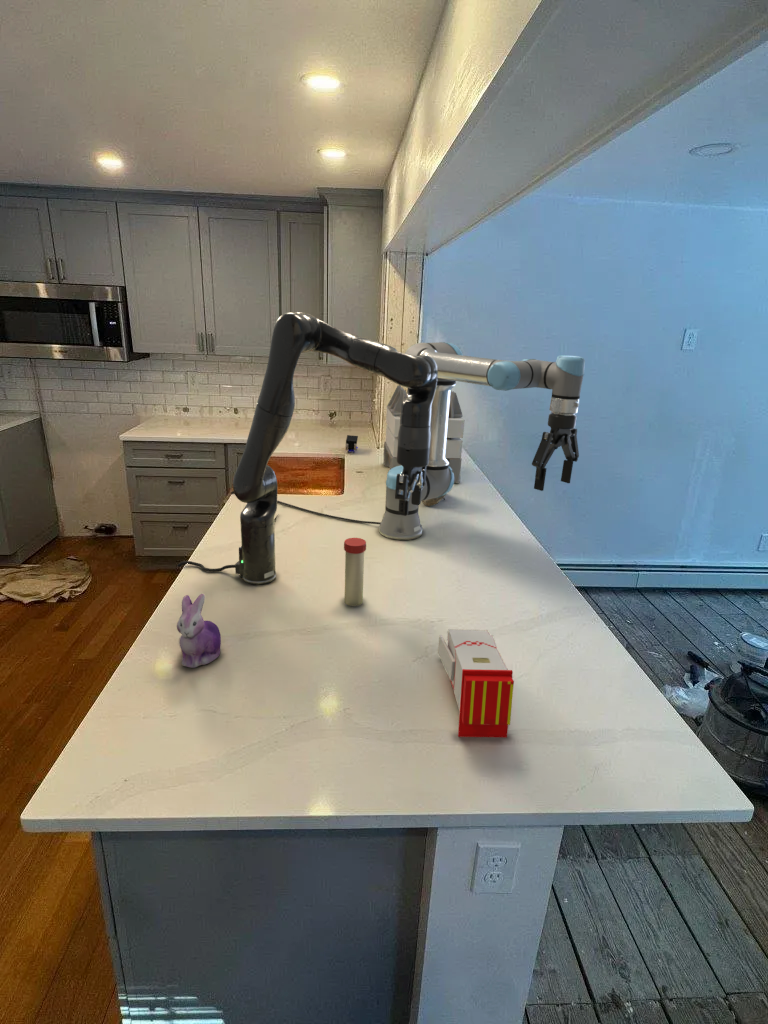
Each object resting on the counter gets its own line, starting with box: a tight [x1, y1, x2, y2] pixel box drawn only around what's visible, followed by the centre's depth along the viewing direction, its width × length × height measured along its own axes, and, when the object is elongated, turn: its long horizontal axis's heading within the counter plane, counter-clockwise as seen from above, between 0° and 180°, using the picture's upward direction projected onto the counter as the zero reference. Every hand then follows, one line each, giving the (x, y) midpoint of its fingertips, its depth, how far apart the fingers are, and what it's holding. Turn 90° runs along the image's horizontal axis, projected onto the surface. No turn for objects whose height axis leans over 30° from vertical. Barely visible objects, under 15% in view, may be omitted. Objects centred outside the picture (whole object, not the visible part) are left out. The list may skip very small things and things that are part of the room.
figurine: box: [176, 593, 222, 668], centre depth 123 cm, size 9×10×15 cm
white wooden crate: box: [383, 384, 465, 484], centre depth 268 cm, size 34×33×41 cm
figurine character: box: [345, 434, 359, 454], centre depth 310 cm, size 7×8×15 cm
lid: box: [343, 537, 367, 554], centre depth 147 cm, size 6×6×2 cm
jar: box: [343, 551, 365, 607], centre depth 150 cm, size 5×5×17 cm
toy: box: [437, 628, 515, 738], centre depth 117 cm, size 12×13×30 cm
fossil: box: [421, 493, 448, 507], centre depth 236 cm, size 22×10×15 cm
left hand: (409, 509), depth 137 cm, fingers open, 8 cm apart
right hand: (552, 485), depth 166 cm, fingers open, 13 cm apart
